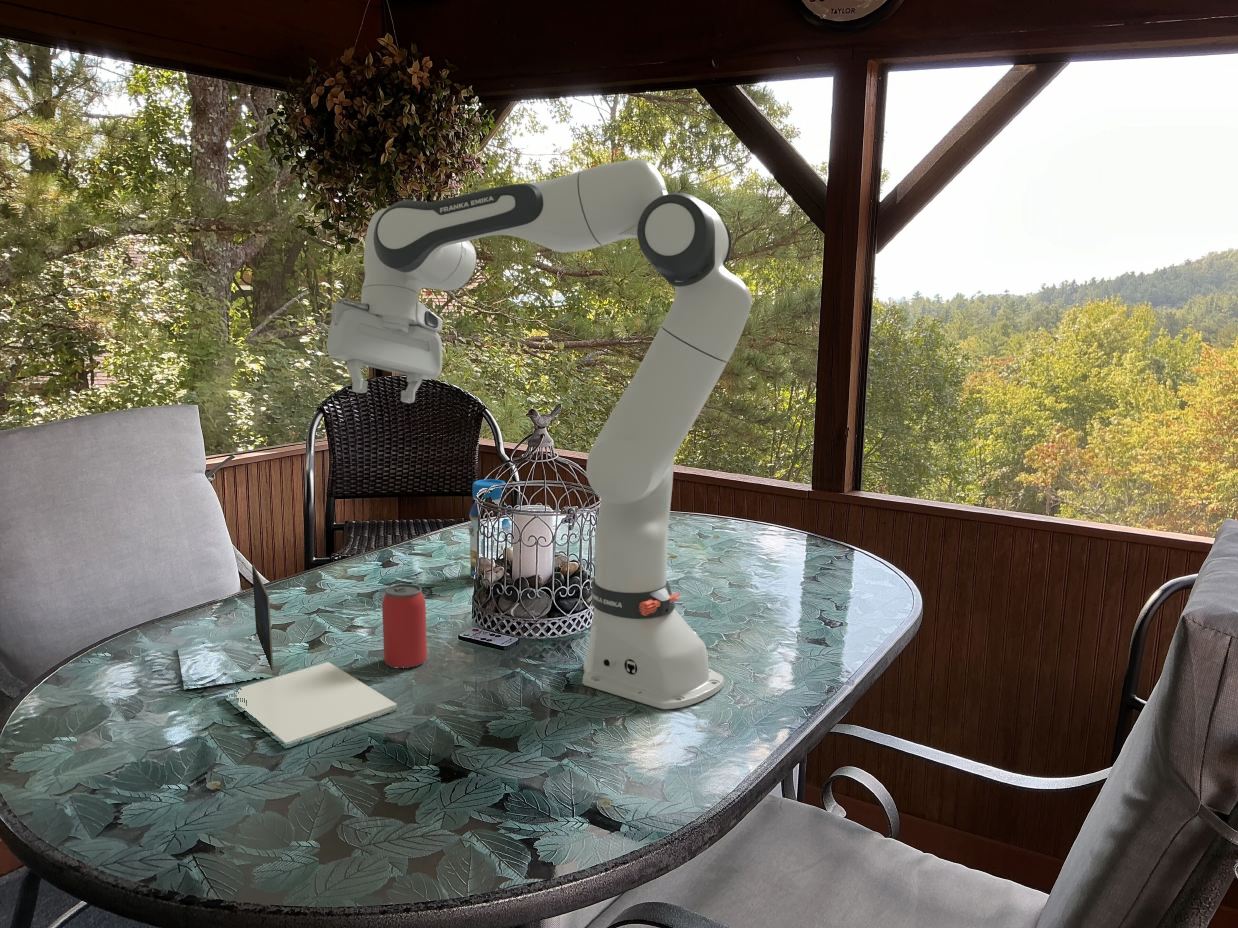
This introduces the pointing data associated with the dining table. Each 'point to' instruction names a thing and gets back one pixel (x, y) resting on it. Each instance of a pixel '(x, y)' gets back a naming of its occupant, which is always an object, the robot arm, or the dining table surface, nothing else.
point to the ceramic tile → (311, 702)
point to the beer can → (404, 626)
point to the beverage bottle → (473, 516)
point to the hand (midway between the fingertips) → (384, 397)
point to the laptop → (262, 616)
